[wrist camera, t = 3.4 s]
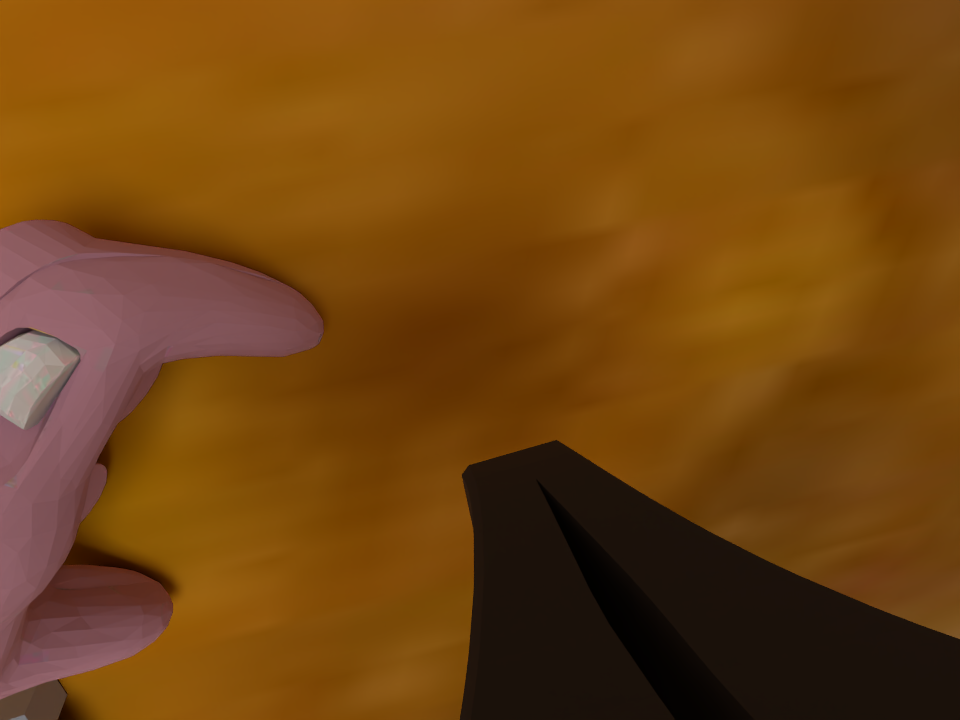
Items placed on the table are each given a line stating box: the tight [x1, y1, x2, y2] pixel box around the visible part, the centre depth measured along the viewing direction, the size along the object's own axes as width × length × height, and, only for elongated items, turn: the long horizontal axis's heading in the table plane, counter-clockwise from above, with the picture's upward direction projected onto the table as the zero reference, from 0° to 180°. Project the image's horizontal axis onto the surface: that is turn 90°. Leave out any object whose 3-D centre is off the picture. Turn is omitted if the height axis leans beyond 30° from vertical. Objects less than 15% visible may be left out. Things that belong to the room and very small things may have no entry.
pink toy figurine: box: [0, 220, 324, 699], centre depth 12 cm, size 10×5×7 cm, turn 149°
